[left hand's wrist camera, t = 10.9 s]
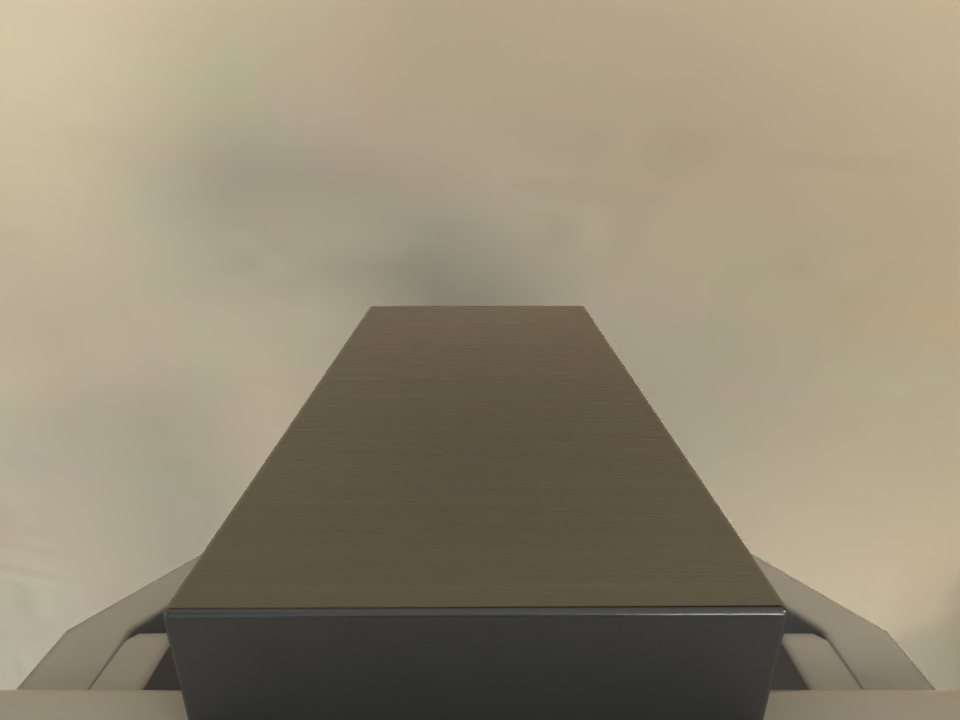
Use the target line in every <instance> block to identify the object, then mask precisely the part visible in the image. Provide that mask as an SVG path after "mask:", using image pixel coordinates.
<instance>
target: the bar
mask: <svg viewBox="0 0 960 720" xmlns="http://www.w3.org/2000/svg"><path fill="white" fill-rule="evenodd" d="M787 617H788V613H787V609H786V606H785V604H784V603H783V601H782V600H781V598H780V597H779V595H778V594H777V592H776V591H775V589H774V588H773V586H772V585H771V584H770V582H769V581H768V579H767V578H766V576H765V575H764V573H763V572H762V570H761V569H760V567H759V566H758V564H757V563H756V561H755V560H754V558H753V557H752V555H751V554H750V552H749V551H748V549H747V548H746V546H745V545H744V543H743V542H742V541H741V539H740V538H739V536H738V535H737V533H736V532H735V530H734V529H733V527H732V526H731V524H730V523H729V521H728V520H727V518H726V517H725V515H724V514H723V512H722V511H721V509H720V508H719V506H718V505H717V503H716V502H715V501H714V499H713V498H712V496H711V495H710V493H709V492H708V490H707V489H706V487H705V486H704V484H703V483H702V481H701V480H700V478H699V477H698V475H697V474H696V472H695V471H694V469H693V468H692V466H691V465H690V463H689V462H688V461H687V459H686V458H685V456H684V455H683V453H682V452H681V450H680V449H679V447H678V446H677V444H676V443H675V441H674V440H673V438H672V437H671V435H670V434H669V432H668V431H667V429H666V428H665V426H664V425H663V423H662V422H661V420H660V419H659V418H658V416H657V415H656V413H655V412H654V410H653V409H652V407H651V406H650V404H649V403H648V401H647V400H646V398H645V397H644V395H643V394H642V392H641V391H640V389H639V388H638V386H637V385H636V383H635V382H634V380H633V379H632V378H631V376H630V375H629V373H628V372H627V370H626V369H625V367H624V366H623V364H622V363H621V361H620V360H619V358H618V357H617V355H616V354H615V352H614V351H613V349H612V348H611V346H610V345H609V343H608V342H607V340H606V339H605V337H604V336H603V335H602V333H601V332H600V330H599V329H598V327H597V326H596V324H595V323H594V321H593V320H592V318H591V317H590V315H589V314H588V312H587V311H586V309H585V308H584V307H583V306H373V307H370V309H369V310H368V312H367V313H366V314H365V316H364V317H363V319H362V320H361V322H360V323H359V325H358V326H357V328H356V329H355V331H354V332H353V334H352V335H351V336H350V338H349V339H348V341H347V342H346V344H345V345H344V347H343V348H342V350H341V351H340V353H339V354H338V356H337V357H336V359H335V360H334V361H333V363H332V364H331V366H330V367H329V369H328V370H327V372H326V373H325V375H324V376H323V378H322V379H321V381H320V382H319V383H318V385H317V386H316V388H315V389H314V391H313V392H312V394H311V395H310V397H309V398H308V400H307V401H306V403H305V404H304V405H303V407H302V408H301V410H300V411H299V413H298V414H297V416H296V417H295V419H294V420H293V422H292V423H291V425H290V426H289V428H288V429H287V430H286V432H285V433H284V435H283V436H282V438H281V439H280V441H279V442H278V444H277V445H276V447H275V448H274V450H273V451H272V452H271V454H270V455H269V457H268V458H267V460H266V461H265V463H264V464H263V466H262V467H261V469H260V470H259V472H258V473H257V475H256V476H255V477H254V479H253V480H252V482H251V483H250V485H249V486H248V488H247V489H246V491H245V492H244V494H243V495H242V497H241V498H240V499H239V501H238V502H237V504H236V505H235V507H234V508H233V510H232V511H231V513H230V514H229V516H228V517H227V519H226V520H225V521H224V523H223V524H222V526H221V527H220V529H219V530H218V532H217V533H216V535H215V536H214V538H213V539H212V541H211V542H210V544H209V545H208V546H207V548H206V549H205V551H204V552H203V554H202V555H201V557H200V558H199V560H198V561H197V563H196V564H195V566H194V567H193V568H192V570H191V571H190V573H189V574H188V576H187V577H186V579H185V580H184V582H183V583H182V585H181V586H180V588H179V589H178V590H177V592H176V593H175V595H174V596H173V598H172V599H171V601H170V602H169V604H168V605H167V607H166V608H165V611H164V615H163V620H164V624H165V628H166V632H167V636H168V640H169V644H170V648H171V652H172V656H173V660H174V664H175V668H176V672H177V676H178V680H179V685H180V689H181V693H182V697H183V701H184V705H185V709H186V713H187V717H188V720H763V719H764V714H765V710H766V706H767V702H768V697H769V693H770V689H771V685H772V681H773V676H774V672H775V668H776V664H777V659H778V655H779V651H780V647H781V642H782V638H783V634H784V630H785V626H786V621H787Z"/></svg>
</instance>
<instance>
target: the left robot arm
mask: <svg viewBox="0 0 960 720" xmlns="http://www.w3.org/2000/svg"><path fill="white" fill-rule="evenodd" d="M750 554H751V553H750ZM751 555H752V554H751ZM200 557H201V555H200V556H198V557H196V558H195V559H193V560H191V561H189V562H188V563H186V564H184V565H182V566H181V567H179V568H177V569H175V570H173V571H172V572H170V573H168V574H166V575H165V576H163V577H161V578H159V579H158V580H156V581H154V582H152V583H151V584H149V585H147V586H145V587H143V588H142V589H140V590H138V591H136V592H135V593H133V594H131V595H129V596H128V597H126V598H124V599H122V600H121V601H119V602H117V603H115V604H114V605H112V606H110V607H108V608H106V609H105V610H103V611H101V612H99V613H98V614H96V615H94V616H92V617H91V618H89V619H87V620H85V621H84V622H82V623H80V624H78V625H76V626H75V627H73V628H71V629H69V630H68V631H66V632H65V634H64V635H63V636H62V637H61V638H60V639H59V641H58V642H57V643H56V644H55V645H54V646H53V647H52V649H51V650H50V651H49V652H48V653H47V654H46V656H45V657H44V658H43V659H42V660H41V661H40V663H39V664H38V665H37V666H36V667H35V668H34V670H33V671H32V672H31V673H30V674H29V675H28V677H27V678H26V679H25V680H24V681H23V682H22V683H21V685H20V686H19V687H18V688H17V689H16V690H0V720H188V717H187V713H186V709H185V705H184V701H183V697H182V693H181V689H180V685H179V680H178V676H177V672H176V668H175V664H174V660H173V656H172V652H171V648H170V644H169V640H168V636H167V632H166V628H165V624H164V620H163V615H164V611H165V608H166V607H167V605H168V604H169V602H170V601H171V599H172V598H173V596H174V595H175V593H176V592H177V590H178V589H179V588H180V586H181V585H182V583H183V582H184V580H185V579H186V577H187V576H188V574H189V573H190V571H191V570H192V568H193V567H194V566H195V564H196V563H197V561H198V560H199V558H200ZM752 557H753V558H754V560H755V561H756V563H757V564H758V566H759V567H760V569H761V570H762V572H763V573H764V575H765V576H766V578H767V579H768V581H769V582H770V584H771V585H772V586H773V588H774V589H775V591H776V592H777V594H778V595H779V597H780V598H781V600H782V601H783V603H784V604H785V606H786V609H787V613H788V617H787V621H786V626H785V630H784V634H783V638H782V642H781V647H780V651H779V655H778V659H777V664H776V668H775V672H774V676H773V681H772V685H771V689H770V693H769V697H768V702H767V706H766V710H765V714H764V719H763V720H960V690H936V689H935V688H934V687H933V686H932V685H931V683H930V682H929V681H928V680H927V679H926V678H925V676H924V675H923V674H922V673H921V672H920V670H919V669H918V668H917V667H916V666H915V664H914V663H913V662H912V661H911V660H910V658H909V657H908V656H907V655H906V654H905V653H904V651H903V650H902V649H901V648H900V647H899V645H898V644H897V643H896V642H895V641H894V639H893V638H892V637H891V636H890V635H889V634H888V632H886V631H885V630H883V629H881V628H879V627H878V626H876V625H874V624H872V623H871V622H869V621H867V620H865V619H864V618H862V617H860V616H859V615H857V614H855V613H853V612H852V611H850V610H848V609H846V608H845V607H843V606H841V605H839V604H838V603H836V602H834V601H832V600H831V599H829V598H827V597H825V596H824V595H822V594H820V593H818V592H817V591H815V590H813V589H812V588H810V587H808V586H806V585H805V584H803V583H801V582H799V581H798V580H796V579H794V578H792V577H791V576H789V575H787V574H785V573H784V572H782V571H780V570H778V569H777V568H775V567H773V566H771V565H770V564H768V563H766V562H765V561H763V560H761V559H759V558H758V557H756V556H754V555H752Z"/></svg>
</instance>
